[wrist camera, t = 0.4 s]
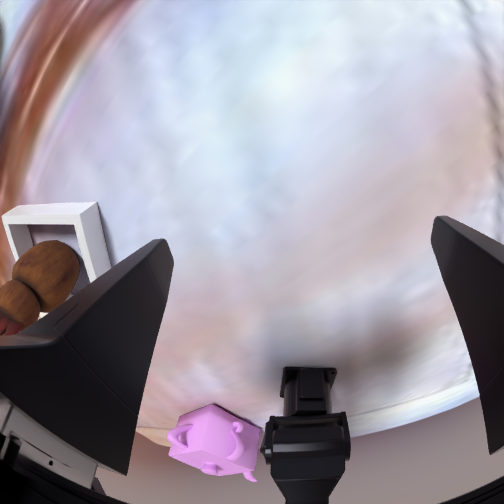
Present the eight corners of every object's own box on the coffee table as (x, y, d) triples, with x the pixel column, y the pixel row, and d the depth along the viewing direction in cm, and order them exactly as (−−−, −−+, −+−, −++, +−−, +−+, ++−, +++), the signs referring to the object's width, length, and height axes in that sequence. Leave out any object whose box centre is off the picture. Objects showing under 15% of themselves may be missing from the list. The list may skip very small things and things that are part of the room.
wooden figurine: (94, 259, 28) (11, 359, 15) (80, 288, 31) (11, 379, 18) (52, 221, 27) (-42, 302, 14) (41, 253, 29) (-37, 332, 16)
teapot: (288, 430, 42) (286, 483, 34) (233, 446, 48) (225, 491, 39) (204, 384, 37) (188, 448, 28) (155, 406, 43) (138, 456, 34)
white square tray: (123, 308, 31) (112, 325, 29) (47, 294, 32) (35, 308, 30) (97, 201, 25) (79, 214, 22) (17, 205, 26) (1, 216, 23)
